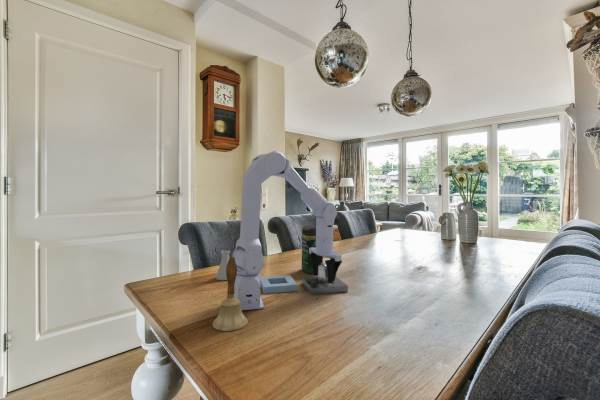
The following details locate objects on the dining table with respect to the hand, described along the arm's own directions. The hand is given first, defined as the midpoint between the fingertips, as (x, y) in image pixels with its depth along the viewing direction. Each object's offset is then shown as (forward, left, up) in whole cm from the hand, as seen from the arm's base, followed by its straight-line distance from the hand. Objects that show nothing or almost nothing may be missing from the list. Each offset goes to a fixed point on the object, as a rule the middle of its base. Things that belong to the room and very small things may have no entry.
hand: (324, 278), depth 96 cm
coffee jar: (+20, -2, -3) cm, 20 cm away
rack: (+4, +15, -3) cm, 16 cm away
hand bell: (-20, +31, -3) cm, 37 cm away
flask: (+18, +32, -3) cm, 37 cm away
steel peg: (0, 0, -3) cm, 3 cm away
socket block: (0, 0, -3) cm, 3 cm away
